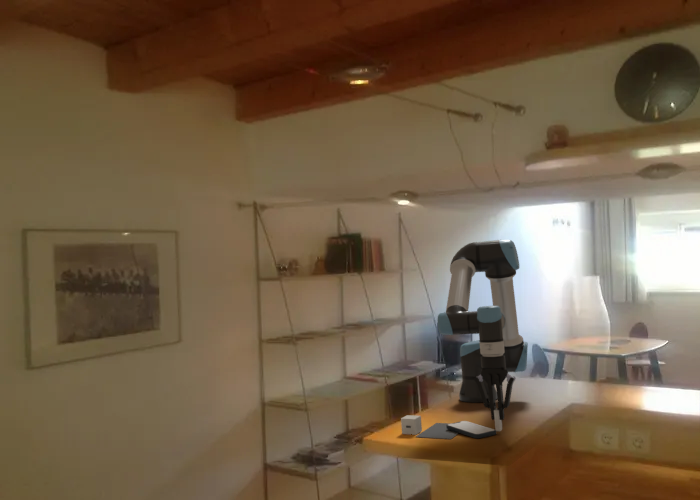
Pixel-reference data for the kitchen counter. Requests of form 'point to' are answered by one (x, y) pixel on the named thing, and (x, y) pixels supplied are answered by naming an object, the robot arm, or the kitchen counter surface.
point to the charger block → (411, 424)
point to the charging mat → (438, 432)
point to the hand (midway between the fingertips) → (498, 430)
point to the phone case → (471, 429)
